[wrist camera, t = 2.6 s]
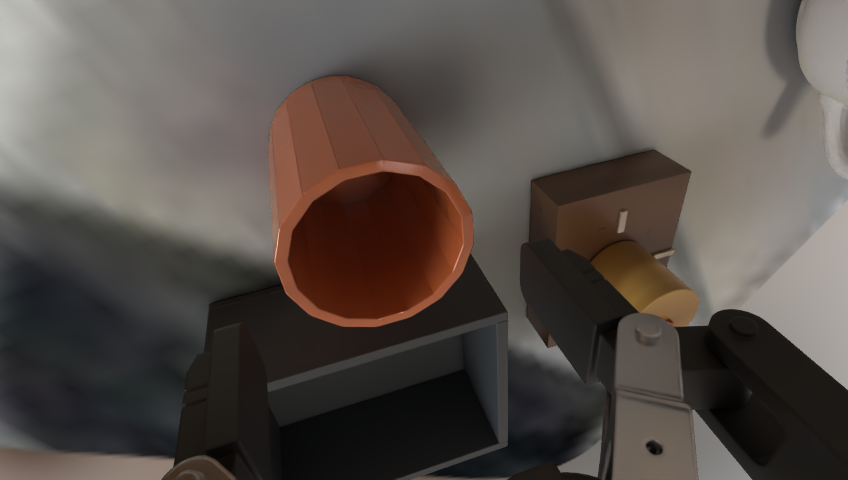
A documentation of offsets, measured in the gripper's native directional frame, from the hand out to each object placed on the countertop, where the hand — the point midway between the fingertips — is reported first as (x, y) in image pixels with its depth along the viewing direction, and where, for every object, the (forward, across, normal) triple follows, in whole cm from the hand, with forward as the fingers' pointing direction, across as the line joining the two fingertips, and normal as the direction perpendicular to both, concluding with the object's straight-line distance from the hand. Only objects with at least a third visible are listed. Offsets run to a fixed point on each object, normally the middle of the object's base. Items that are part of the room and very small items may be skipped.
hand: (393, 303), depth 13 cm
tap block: (+11, -14, +10) cm, 21 cm away
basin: (+11, +1, +13) cm, 17 cm away
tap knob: (+8, -14, +10) cm, 19 cm away
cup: (+11, 0, 0) cm, 11 cm away
